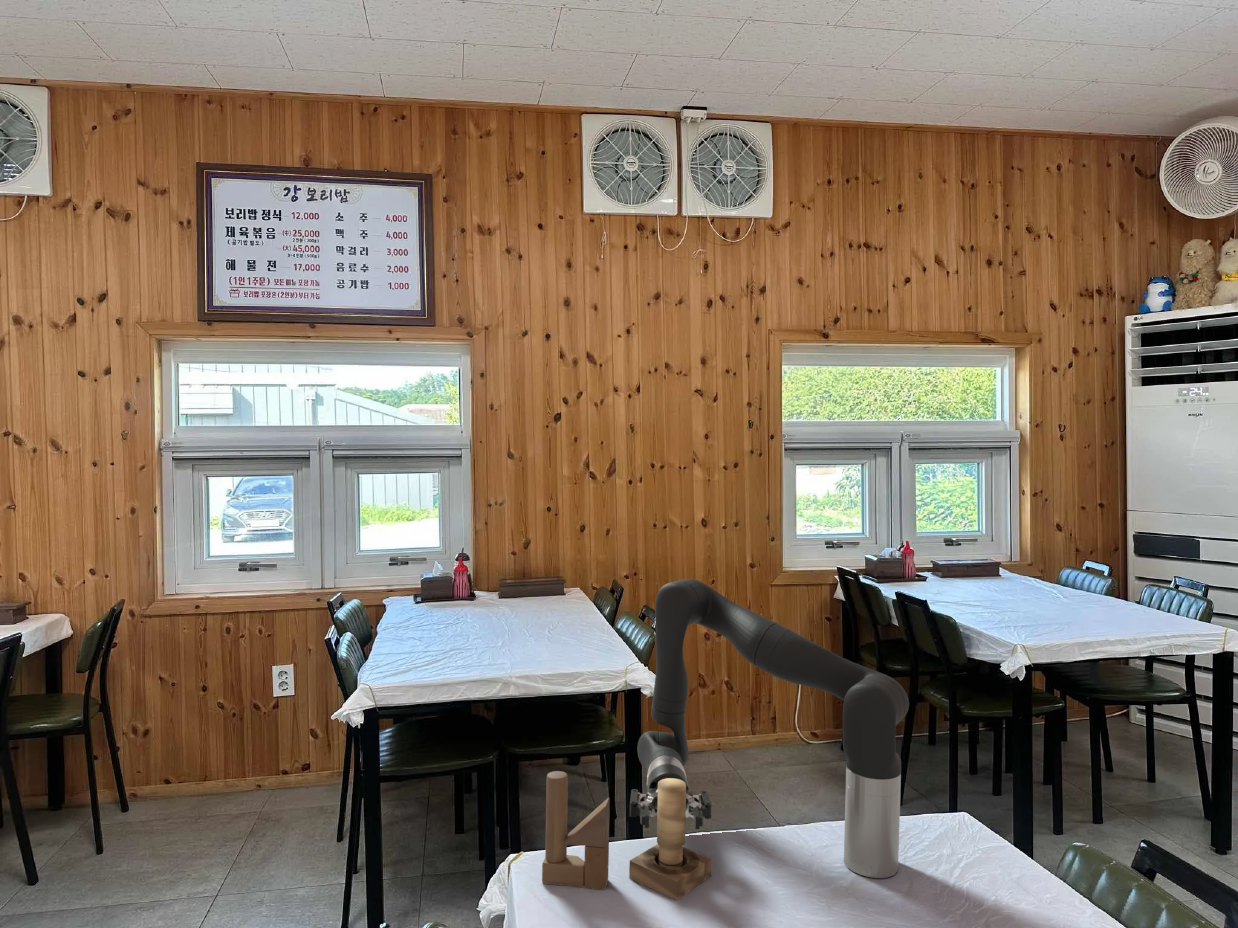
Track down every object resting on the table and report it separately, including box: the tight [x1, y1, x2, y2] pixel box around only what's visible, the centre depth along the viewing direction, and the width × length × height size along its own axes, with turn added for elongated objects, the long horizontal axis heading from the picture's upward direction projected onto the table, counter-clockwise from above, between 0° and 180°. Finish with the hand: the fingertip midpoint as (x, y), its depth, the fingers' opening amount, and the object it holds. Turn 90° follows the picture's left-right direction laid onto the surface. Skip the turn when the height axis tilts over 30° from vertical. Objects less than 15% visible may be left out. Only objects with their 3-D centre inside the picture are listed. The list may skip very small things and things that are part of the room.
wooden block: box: [541, 770, 611, 890], centre depth 138 cm, size 4×11×18 cm, turn 81°
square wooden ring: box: [628, 843, 713, 901], centre depth 140 cm, size 10×10×3 cm
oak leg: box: [656, 778, 687, 868], centre depth 140 cm, size 5×5×16 cm
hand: (672, 822), depth 138 cm, fingers open, 8 cm apart
